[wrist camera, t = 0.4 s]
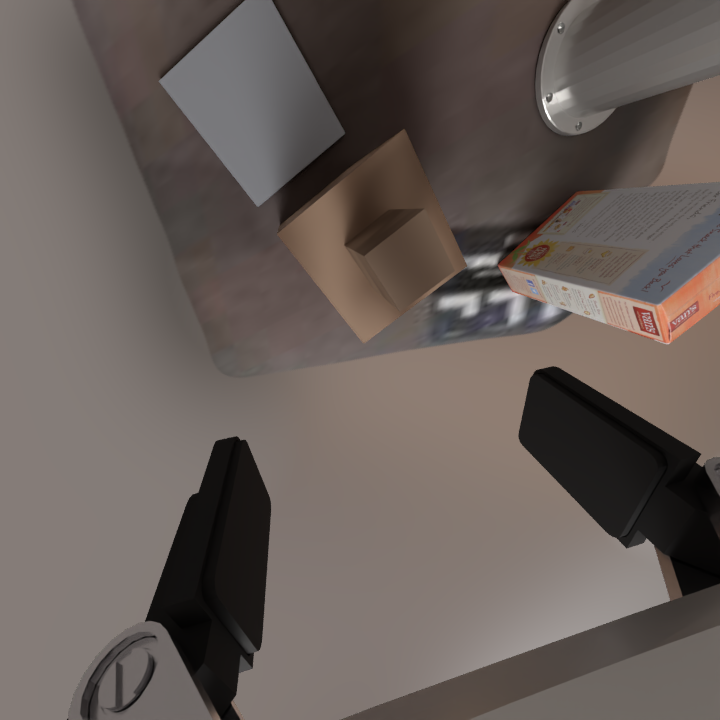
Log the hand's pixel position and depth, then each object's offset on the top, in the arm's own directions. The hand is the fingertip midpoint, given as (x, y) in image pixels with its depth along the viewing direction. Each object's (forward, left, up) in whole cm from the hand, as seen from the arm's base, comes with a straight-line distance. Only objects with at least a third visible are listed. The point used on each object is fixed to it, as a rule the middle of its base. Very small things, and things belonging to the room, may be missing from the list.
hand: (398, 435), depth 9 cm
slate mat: (-5, -15, -31) cm, 35 cm away
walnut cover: (-5, -1, -31) cm, 31 cm away
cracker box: (-28, +17, -31) cm, 46 cm away
